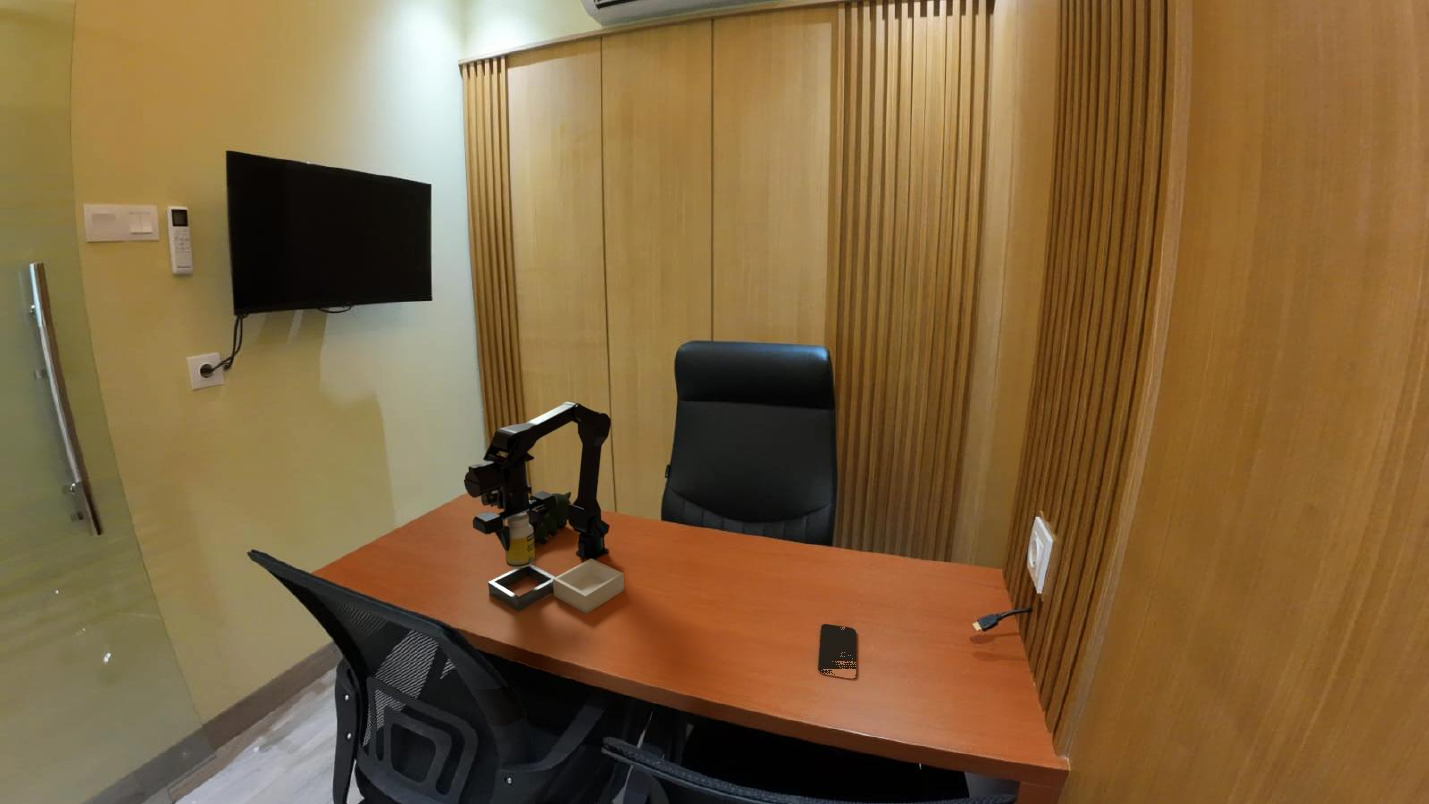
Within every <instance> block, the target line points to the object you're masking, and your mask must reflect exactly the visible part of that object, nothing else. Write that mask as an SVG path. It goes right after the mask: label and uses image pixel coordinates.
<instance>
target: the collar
mask: <svg viewBox="0 0 1429 804" xmlns="http://www.w3.org/2000/svg"><path fill="white" fill-rule="evenodd" d="M525 577H526V578H527V577H529V578H530V579H532V580H534V581H536V582H538V583H540V584H539V585H538V586H536V587H535V588H532V589H531V590H528V591H527V592H525V593H523V594H521V595H517V594H515V593H514V592H512V591H510V590H509V589H507V588H508V587H510V586H511V585H514V584H515V583H518V582H520V581H522V580H523V578H524V579H525ZM555 577H556V576H555V575H553V574H551V573H549V572H547V571H545V570H543V569H541V568H539V567H537V566H535V565H533V563H532V564H531V565H529V566H527V567H524V568H513V569H512V570H510V571H508V572H505V573H504V574H502V575H500V576H498V577H495V578H494V579H492V580H489V581H488V582H487V585H488V593H489V595H491V596H492V597H495V598H496V599H498V600H499V601H501V602H502V603H504V604H505V605H507V606H509V607H510V608H511V609H514V610H515V611H516V612H521V611H523V610H525V609H527V608H529V607H531V606H532V605H534V604H535V603H538V602H539V601H542V600H543V599H545V598H546V597H548V596H551V594H554V588H553V578H555ZM519 580H520V581H519Z"/></svg>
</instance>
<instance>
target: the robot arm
mask: <svg viewBox="0 0 1429 804" xmlns="http://www.w3.org/2000/svg"><path fill="white" fill-rule="evenodd" d="M572 422H573V423H575V424H576V425H577V433H578V437H579V439H580V441H581V445H582V448H581V455H580V456H581V457H580V466H579V467H580V468H579V477H578V489H577V497H576V498H575V500H574V501H573V503H571V504H569V505H568V515H567V519H568V520H567V524H568V525H569V526H570V527H571V528H572V529H573V531H574V532H577V533H578V540H577V549H578V550H577V551H575V555H578V556H580V557H582V558H584V559H586V560H589V559H594V560H595V559H596V560H597V558H599V557H601V556H603V555H605V554H606V553H608V552H609V551H610V549H608V548H607V547H605V536H606V535H607V534H609V531H610V524H608V523H607V522H605V521H604V520H603V519H602V509H601V505H600V504H599V501H598V496H597V495H598V485H599V479H600V478H599V476H600V465H601V455H602V446H603V444H604V443H605V442H606V440H607V439H608V437H609V434H610V430H611V426H612V419H611V417H610V416H609V415H608V414H607V413H605V412H601V411H596V410H593V409H590V408H588V407H587V406H584V405H582V404H581V403H579V402H574V401H569V400H568V401H565V402H563V403H562V404H560V405H559V406H557V407H555V408H553V409H551V410H549V411H547V412H545V413H543V414H541V415H539V416H537V417H535V418H533V419H531V420H529V421H527V422H524V423H516V424H511V425H507V426H503V427H500V428H498V429H497V430H496V431H494V433H493V437H492V441H491V442H490V445H489V447H488V448H487V451H486V452H485V453H484V455H483V461H484V462H482V463H481V462H480V463H478V464H472V465H468V471H467V472H466V474H465V476H464V479H463V485H464V488H465V490H466V493H467V494H468V495H469V496H470V497H472V498H475V499H476V498H480V500H481V504H482V505H483V506H489V505H490V508H494V507H495V506H497V507H496V508H497V509H498V510H503V511H501V512H498V513H494V512H492V511H491V510H487V511H485V512H482V513H480V514H477V515H474V517H473V519H472V527H473V529H475V530H476V531H478V532H480V533H482V534H484V535H491V534H493V533H494V534H495V535H496V538H497V539H498V541H499V542H500V544H501V546H502V548H503V549H504V550H505V551H504V552H506V551H509V546H510V527H507V526H508V525H506V520H507V519H509V518H511V517H514V516H516V515H519V514H521V513H525V514H528V516H529V522H528V523H529V524H531V525H532V527H533V531H534V539H535V537H536V534H537V532H538V530H539V527H540V525H541V523H542V521H543V519H544V518H545V516H546V514H547V513H549V510H550V509H552V508H555V507H557V498H556V497H555V496H554V495H552V494H553V493H549V492H547V491H545V490H541V491H538V492H535V493H533V494H529V493H528V492H529V491H532V486H531V485H529V484H528V483H529V482H528V473H527V462H530V461H533V460H535V457H534V455H531V454H530V453H528V452H529V451H530V450H532V449H533V448H534V447H535V445H536V443H537V441H538V440H540V439H541V438H543V437H545V436H547V435H549V434H551V433H553V432H555V431H557V430H558V429H560V428H562V427H564V426H566V425H568V424H569V423H572ZM499 454H504V455H506V456H502V455H499Z"/></svg>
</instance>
